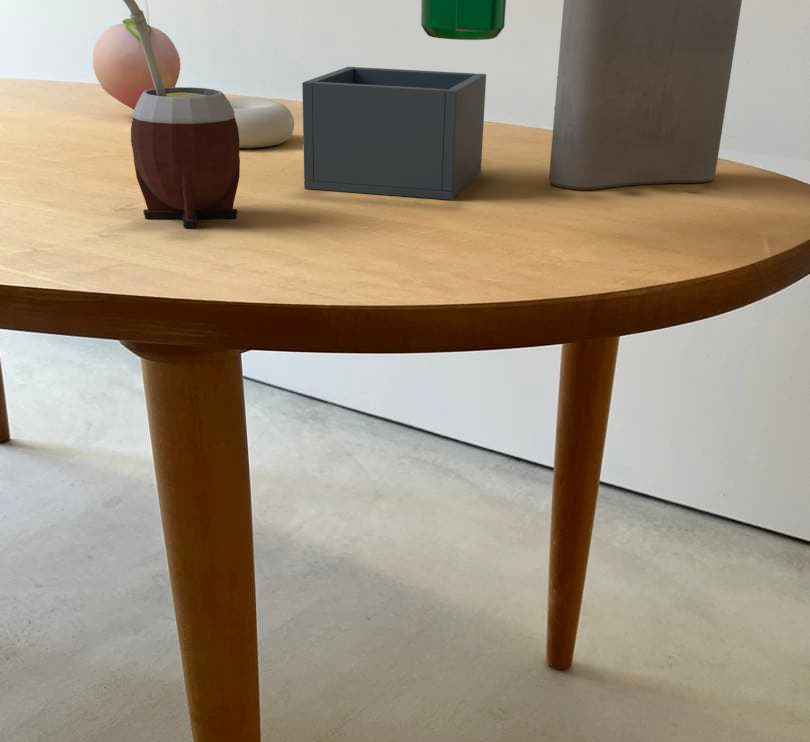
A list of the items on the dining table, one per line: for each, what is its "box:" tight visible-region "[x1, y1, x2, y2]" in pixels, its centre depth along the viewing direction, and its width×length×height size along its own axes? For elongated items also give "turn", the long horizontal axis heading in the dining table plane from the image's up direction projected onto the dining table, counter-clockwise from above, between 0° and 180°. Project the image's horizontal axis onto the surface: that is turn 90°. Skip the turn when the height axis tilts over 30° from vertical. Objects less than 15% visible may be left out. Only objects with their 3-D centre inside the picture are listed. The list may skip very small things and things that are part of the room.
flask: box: [548, 0, 743, 191], centre depth 86 cm, size 15×6×20 cm, turn 113°
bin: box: [301, 66, 487, 201], centre depth 87 cm, size 12×12×8 cm
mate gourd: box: [122, 0, 241, 229], centre depth 72 cm, size 8×8×15 cm
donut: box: [227, 97, 295, 149], centre depth 102 cm, size 10×4×10 cm
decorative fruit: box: [92, 18, 181, 111], centre depth 112 cm, size 9×8×10 cm
